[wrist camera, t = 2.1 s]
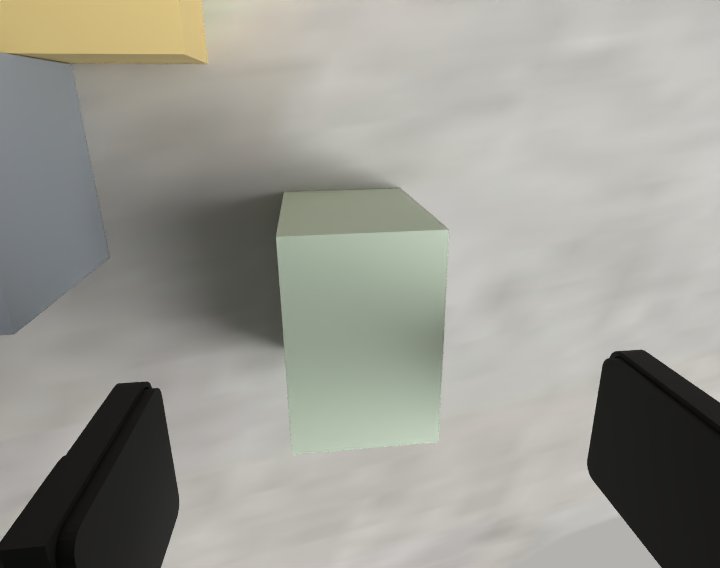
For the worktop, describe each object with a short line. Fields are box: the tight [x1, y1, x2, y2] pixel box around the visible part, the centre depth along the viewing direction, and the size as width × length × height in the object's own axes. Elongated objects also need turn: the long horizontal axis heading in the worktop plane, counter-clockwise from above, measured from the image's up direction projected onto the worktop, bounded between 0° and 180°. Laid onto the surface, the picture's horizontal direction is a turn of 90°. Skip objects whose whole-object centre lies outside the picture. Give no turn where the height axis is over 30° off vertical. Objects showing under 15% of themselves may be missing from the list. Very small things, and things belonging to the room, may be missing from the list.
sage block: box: [276, 188, 449, 455], centre depth 15 cm, size 6×4×6 cm, turn 1°
